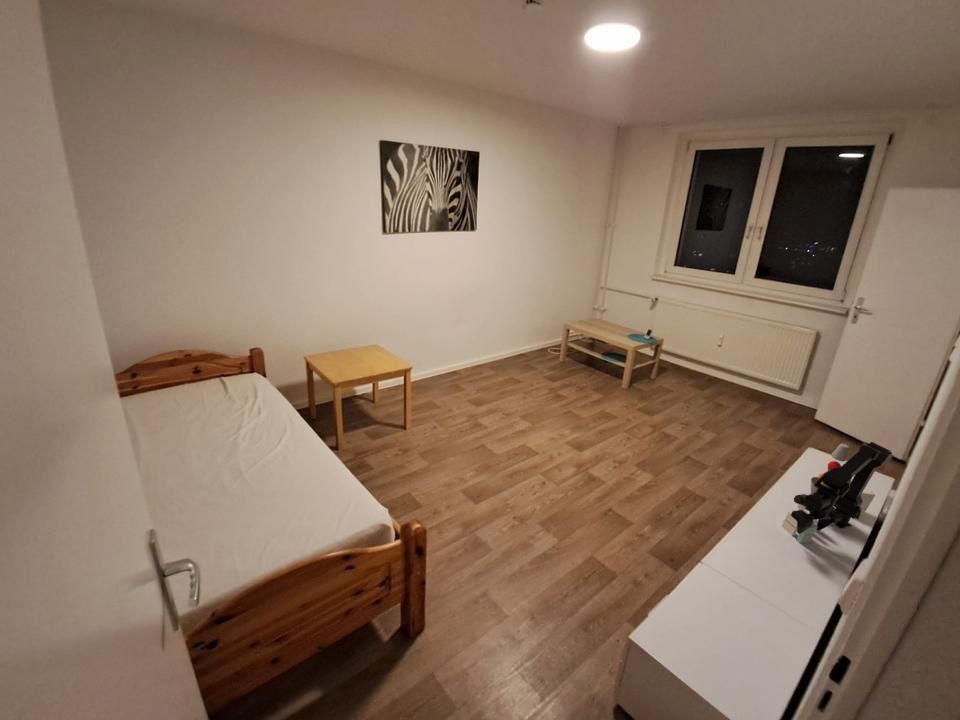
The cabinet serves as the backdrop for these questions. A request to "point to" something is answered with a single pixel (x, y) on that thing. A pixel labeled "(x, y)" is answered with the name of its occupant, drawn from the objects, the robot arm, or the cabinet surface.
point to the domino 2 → (807, 534)
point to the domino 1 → (790, 524)
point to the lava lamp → (830, 466)
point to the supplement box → (866, 499)
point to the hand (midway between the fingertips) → (807, 531)
